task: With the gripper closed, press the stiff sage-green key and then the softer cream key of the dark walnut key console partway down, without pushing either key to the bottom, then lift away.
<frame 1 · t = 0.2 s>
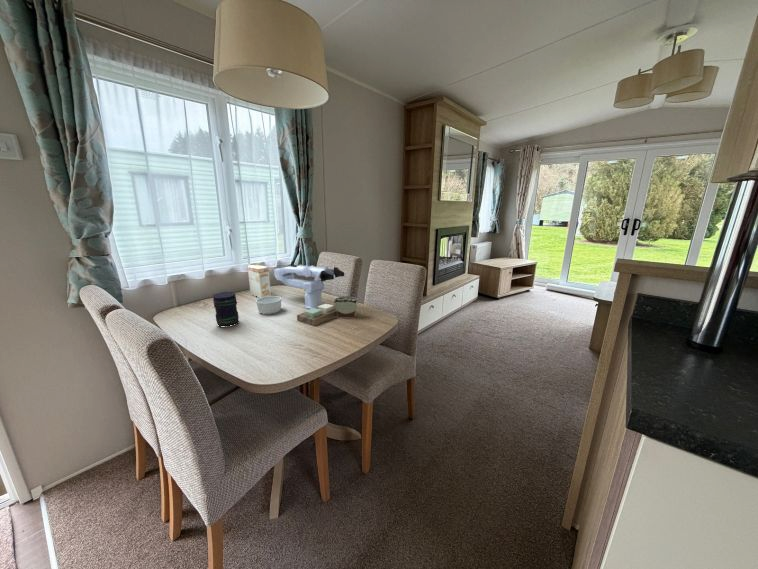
hand: (338, 275, 151), 21 cm above the table, tool horizontal, fingers open, 7 cm apart
sage key: (313, 313, 148), point 4 cm above the table, slide at 0.0 cm
ramekin: (270, 311, 162), on the table
cream key: (326, 308, 155), point 4 cm above the table, slide at 0.0 cm
storage jar: (228, 324, 144), on the table
key console: (320, 317, 152), on the table
coffeecake box: (260, 295, 191), on the table
food container: (347, 316, 155), on the table
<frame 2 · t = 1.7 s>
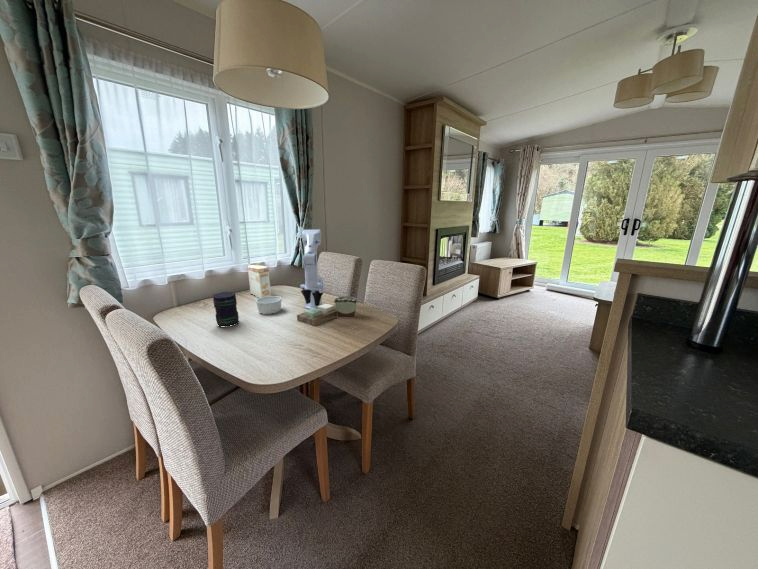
hand: (312, 304, 146), 8 cm above the table, tool pointing down, fingers open, 6 cm apart
nothing on the table moved.
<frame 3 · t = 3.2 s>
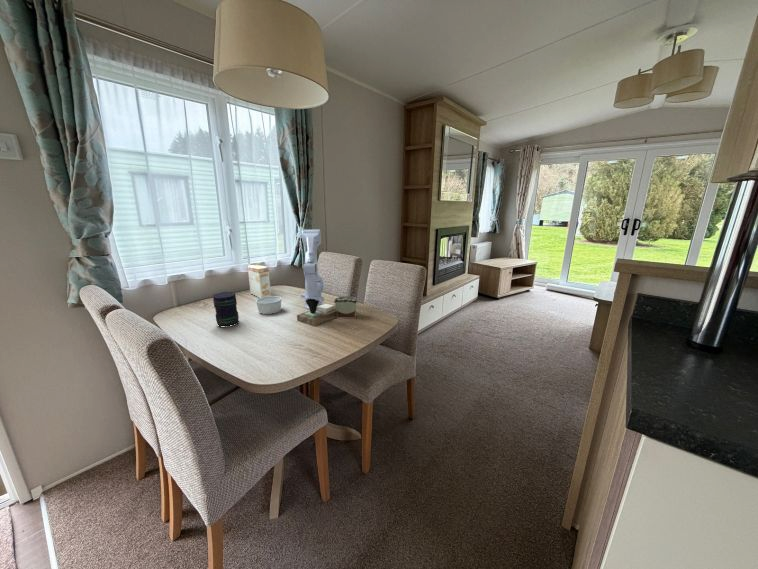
hand: (313, 312, 148), 4 cm above the table, tool pointing down, fingers closed, pressing on sage key
sage key: (313, 315, 148), point 3 cm above the table, slide at 1.1 cm, touching gripper
everything else where it was.
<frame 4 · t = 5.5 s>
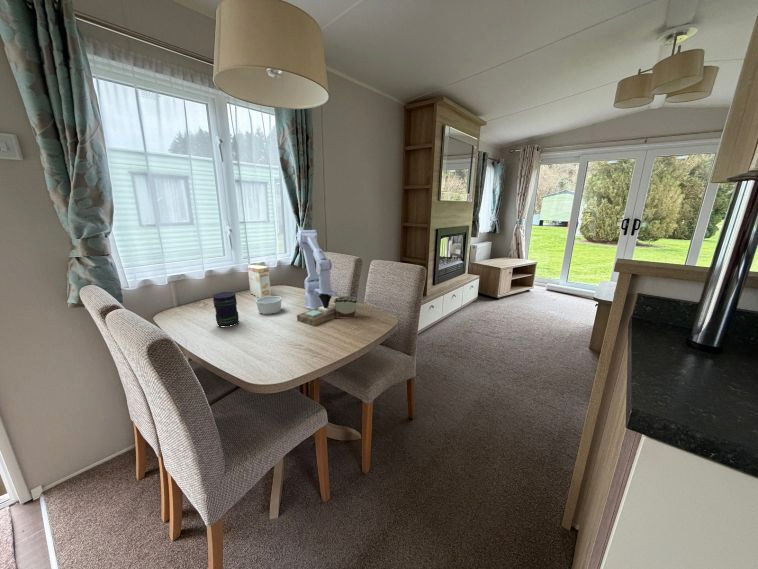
hand: (326, 307, 155), 4 cm above the table, tool pointing down, fingers closed, pressing on cream key
sage key: (313, 315, 148), point 3 cm above the table, slide at 1.1 cm
cream key: (326, 309, 155), point 3 cm above the table, slide at 0.8 cm, touching gripper
everything else where it was.
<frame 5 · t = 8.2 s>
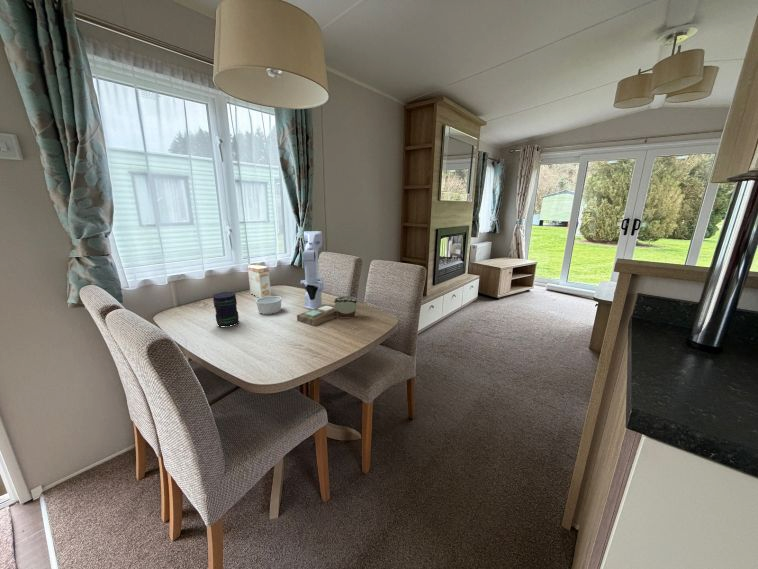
hand: (312, 299, 151), 9 cm above the table, tool pointing down, fingers closed
cream key: (326, 310, 155), point 3 cm above the table, slide at 1.2 cm
everything else where it was.
at the end: sage key slide at 1.1 cm; cream key slide at 1.2 cm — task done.
